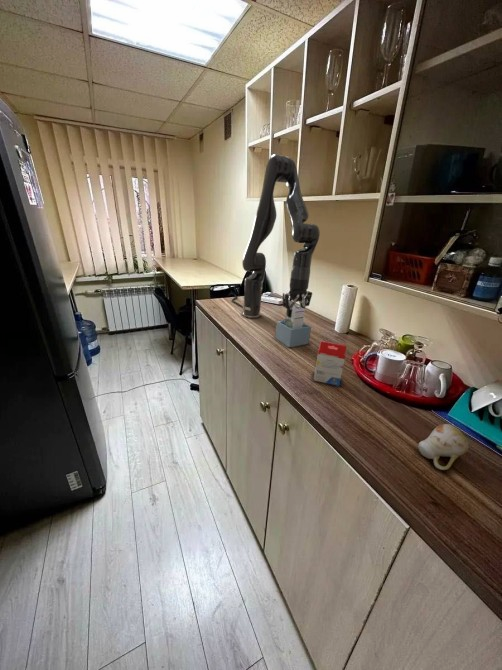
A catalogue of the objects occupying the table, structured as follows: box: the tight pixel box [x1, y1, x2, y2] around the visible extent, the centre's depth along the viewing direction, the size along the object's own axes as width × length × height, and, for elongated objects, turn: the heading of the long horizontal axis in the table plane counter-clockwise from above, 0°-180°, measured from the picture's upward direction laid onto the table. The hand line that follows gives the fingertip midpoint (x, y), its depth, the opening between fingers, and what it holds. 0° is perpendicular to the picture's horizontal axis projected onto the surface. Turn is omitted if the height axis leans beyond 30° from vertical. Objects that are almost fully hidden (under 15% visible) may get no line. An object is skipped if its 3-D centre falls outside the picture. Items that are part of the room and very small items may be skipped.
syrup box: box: [284, 304, 306, 329], centre depth 118 cm, size 6×6×14 cm
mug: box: [418, 423, 469, 471], centre depth 64 cm, size 8×10×10 cm
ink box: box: [313, 340, 348, 387], centre depth 90 cm, size 8×5×15 cm, turn 71°
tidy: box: [274, 319, 312, 348], centre depth 119 cm, size 11×11×8 cm
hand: (294, 316), depth 116 cm, fingers closed on syrup box, 5 cm apart
